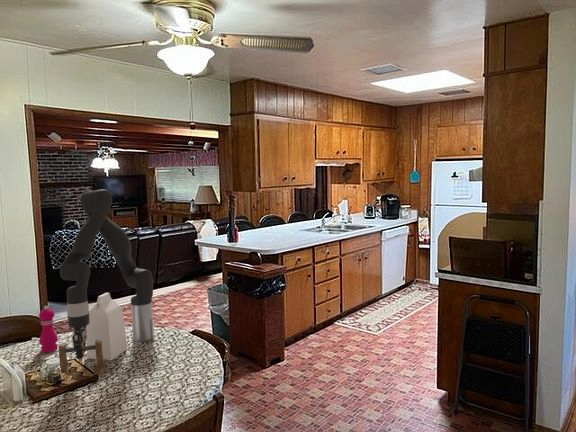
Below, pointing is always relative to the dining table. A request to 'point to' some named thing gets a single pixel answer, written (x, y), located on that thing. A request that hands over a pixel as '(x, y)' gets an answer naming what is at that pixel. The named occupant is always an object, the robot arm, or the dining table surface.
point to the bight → (83, 353)
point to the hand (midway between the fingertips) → (81, 355)
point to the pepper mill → (47, 331)
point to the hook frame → (97, 346)
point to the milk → (106, 328)
